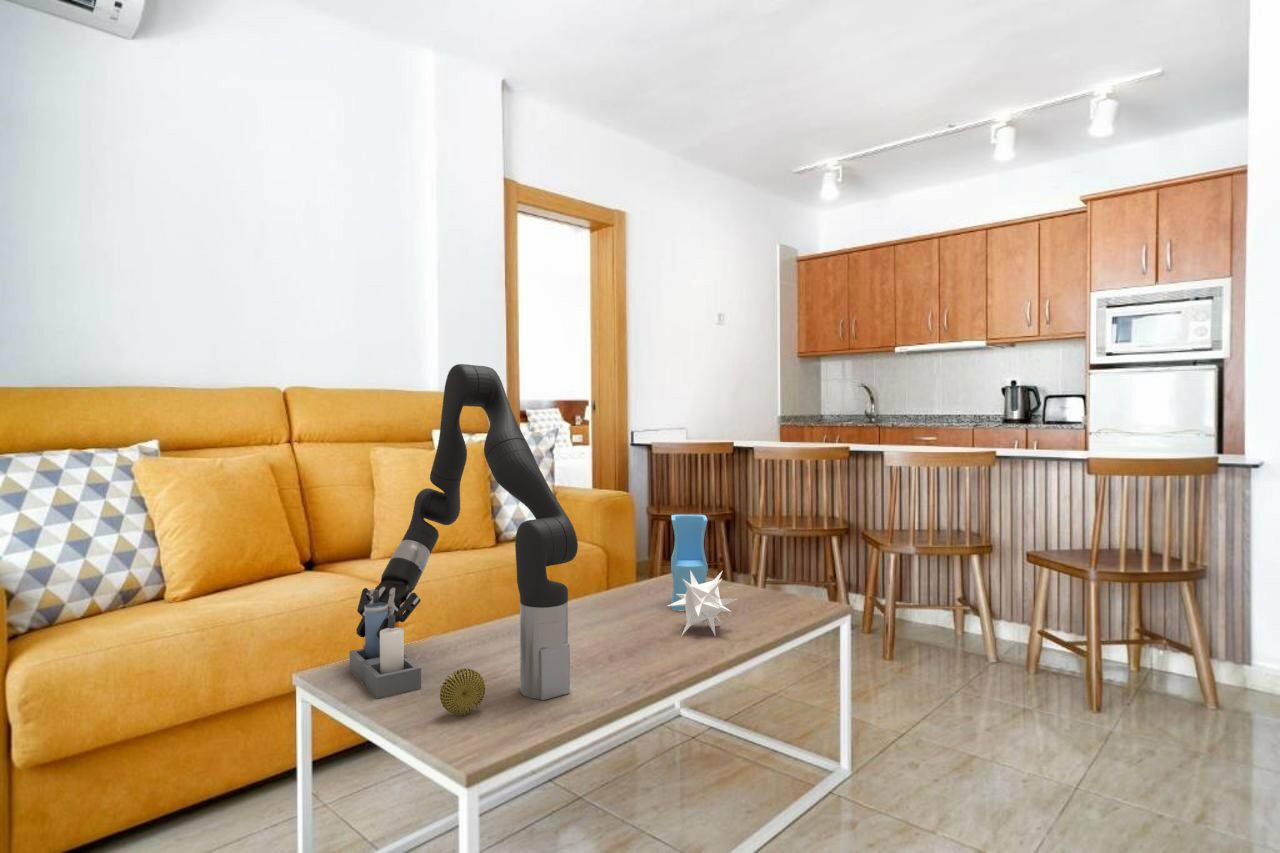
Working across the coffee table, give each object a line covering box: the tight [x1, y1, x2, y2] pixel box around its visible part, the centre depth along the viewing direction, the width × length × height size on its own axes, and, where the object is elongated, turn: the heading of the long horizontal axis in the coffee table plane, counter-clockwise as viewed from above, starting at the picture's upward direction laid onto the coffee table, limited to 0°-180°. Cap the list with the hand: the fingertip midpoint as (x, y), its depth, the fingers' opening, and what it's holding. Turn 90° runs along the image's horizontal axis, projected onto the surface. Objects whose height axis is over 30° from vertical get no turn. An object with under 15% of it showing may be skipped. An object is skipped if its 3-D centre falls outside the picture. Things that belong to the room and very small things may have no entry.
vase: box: [670, 514, 709, 611], centre depth 197 cm, size 10×10×25 cm
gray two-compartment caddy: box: [349, 614, 422, 700], centre depth 143 cm, size 19×8×14 cm, turn 37°
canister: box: [364, 590, 388, 660], centre depth 147 cm, size 4×4×14 cm
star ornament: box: [667, 569, 738, 637], centre depth 175 cm, size 20×14×14 cm
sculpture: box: [439, 668, 486, 716], centre depth 126 cm, size 8×4×8 cm, turn 118°
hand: (370, 636), depth 145 cm, fingers closed on canister, 4 cm apart
